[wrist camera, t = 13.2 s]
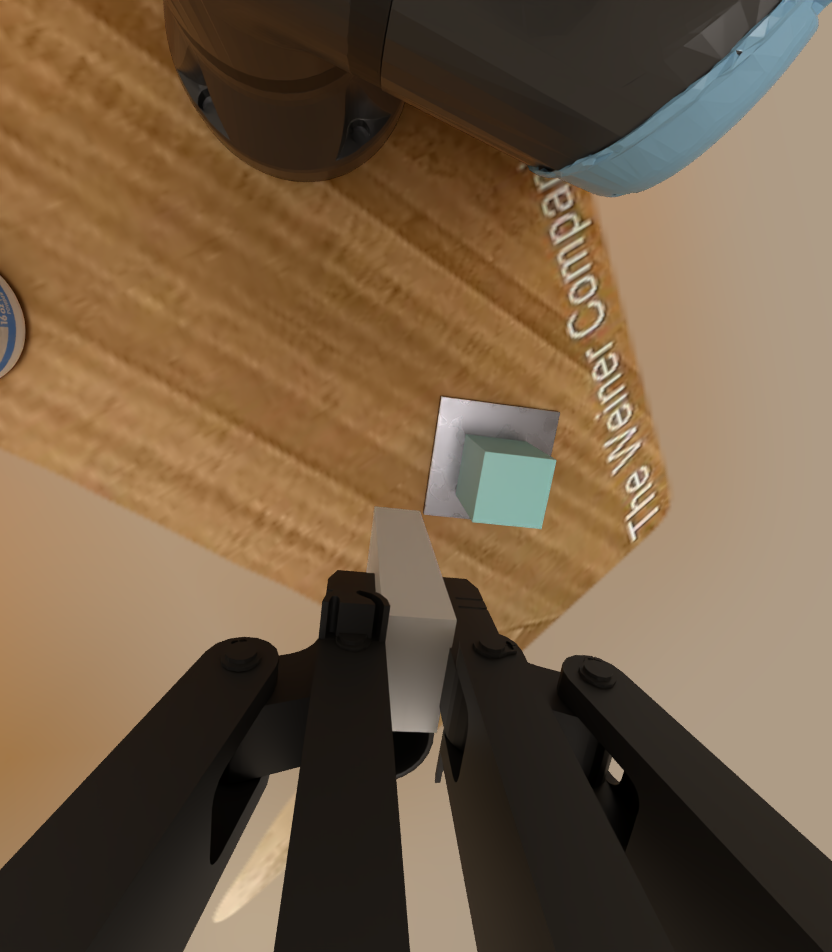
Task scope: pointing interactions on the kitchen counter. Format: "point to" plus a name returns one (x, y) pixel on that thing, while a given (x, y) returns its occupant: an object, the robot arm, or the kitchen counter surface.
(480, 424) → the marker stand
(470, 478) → the teal rectangular block
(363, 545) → the kitchen counter surface
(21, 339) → the supplement tub
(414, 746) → the mug
